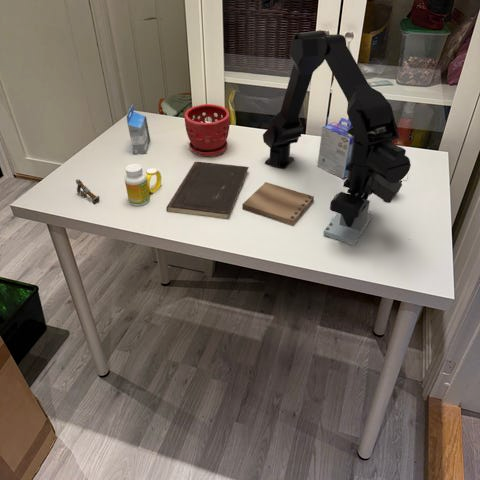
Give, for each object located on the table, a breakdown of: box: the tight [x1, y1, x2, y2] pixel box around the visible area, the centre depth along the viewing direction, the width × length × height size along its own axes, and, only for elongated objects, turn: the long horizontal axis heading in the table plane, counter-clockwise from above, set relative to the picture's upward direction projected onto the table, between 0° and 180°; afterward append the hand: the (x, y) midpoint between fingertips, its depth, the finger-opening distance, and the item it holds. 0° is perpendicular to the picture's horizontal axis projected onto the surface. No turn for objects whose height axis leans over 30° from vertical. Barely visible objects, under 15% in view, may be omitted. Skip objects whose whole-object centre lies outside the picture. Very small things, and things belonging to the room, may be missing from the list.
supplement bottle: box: [124, 163, 151, 207], centre depth 115 cm, size 5×5×10 cm
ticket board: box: [241, 181, 315, 227], centre depth 115 cm, size 12×14×2 cm
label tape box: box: [126, 103, 151, 155], centre depth 138 cm, size 9×4×12 cm, turn 179°
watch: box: [145, 167, 162, 194], centre depth 121 cm, size 6×3×6 cm, turn 156°
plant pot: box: [184, 103, 231, 157], centre depth 136 cm, size 13×13×12 cm
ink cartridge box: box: [317, 117, 353, 179], centre depth 125 cm, size 10×6×14 cm, turn 41°
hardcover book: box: [166, 161, 250, 219], centre depth 121 cm, size 16×23×2 cm
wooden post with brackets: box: [75, 178, 101, 204], centre depth 119 cm, size 2×8×4 cm, turn 52°
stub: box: [322, 199, 373, 245], centre depth 106 cm, size 12×7×7 cm, turn 149°
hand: (353, 219), depth 106 cm, fingers open, 5 cm apart
